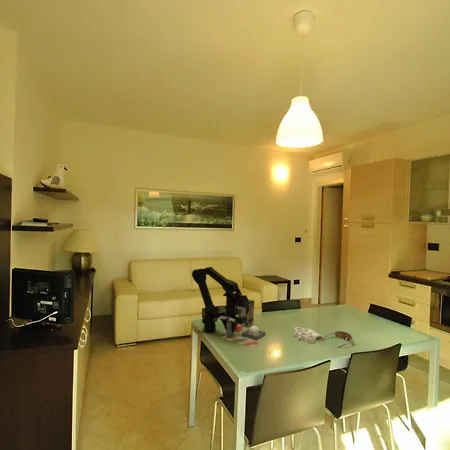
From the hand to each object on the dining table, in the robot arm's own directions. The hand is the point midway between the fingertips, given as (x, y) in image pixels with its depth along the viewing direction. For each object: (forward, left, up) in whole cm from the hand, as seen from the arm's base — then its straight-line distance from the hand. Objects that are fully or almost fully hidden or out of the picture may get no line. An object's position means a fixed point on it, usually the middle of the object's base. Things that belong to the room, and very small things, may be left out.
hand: (230, 332), depth 175 cm
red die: (-3, +12, -4) cm, 13 cm away
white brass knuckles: (+33, +32, -5) cm, 46 cm away
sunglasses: (+50, +37, -4) cm, 62 cm away
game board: (+7, 0, -4) cm, 8 cm away
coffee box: (-5, +25, -4) cm, 26 cm away
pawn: (0, 0, -2) cm, 2 cm away
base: (+9, +11, -4) cm, 15 cm away
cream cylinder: (+9, +11, -3) cm, 15 cm away
